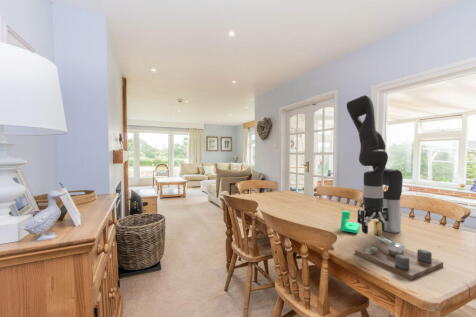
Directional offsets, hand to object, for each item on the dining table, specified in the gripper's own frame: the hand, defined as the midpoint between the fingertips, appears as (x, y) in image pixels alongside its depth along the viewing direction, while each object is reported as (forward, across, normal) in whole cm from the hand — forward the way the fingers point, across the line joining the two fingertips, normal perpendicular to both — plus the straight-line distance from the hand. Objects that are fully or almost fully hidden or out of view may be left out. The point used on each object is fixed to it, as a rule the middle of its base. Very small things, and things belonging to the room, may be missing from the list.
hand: (373, 232), depth 95 cm
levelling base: (+7, -1, +10) cm, 12 cm away
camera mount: (+8, -7, -22) cm, 25 cm away
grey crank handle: (+6, -1, +6) cm, 8 cm away
